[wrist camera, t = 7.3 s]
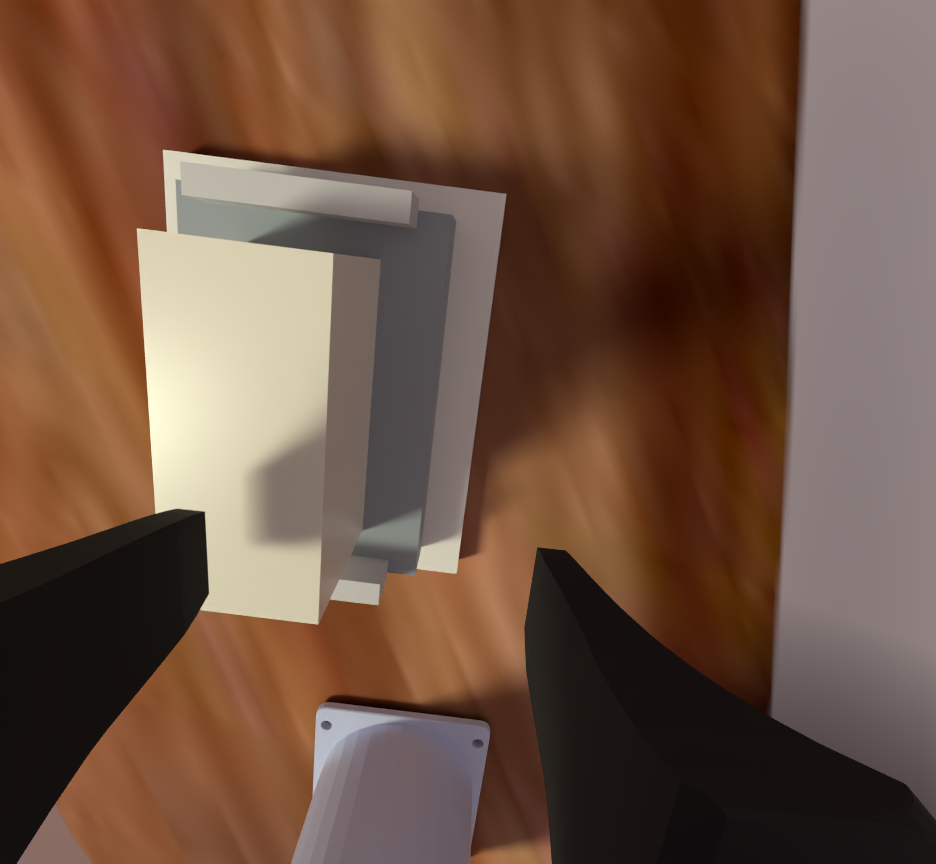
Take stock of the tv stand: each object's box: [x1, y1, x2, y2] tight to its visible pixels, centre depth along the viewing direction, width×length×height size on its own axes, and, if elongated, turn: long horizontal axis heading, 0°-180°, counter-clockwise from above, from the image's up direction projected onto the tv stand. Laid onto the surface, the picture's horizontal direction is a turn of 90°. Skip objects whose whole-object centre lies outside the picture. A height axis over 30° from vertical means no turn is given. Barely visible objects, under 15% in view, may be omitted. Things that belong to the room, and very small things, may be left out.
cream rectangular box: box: [137, 228, 381, 624], centre depth 14 cm, size 9×4×5 cm, turn 173°
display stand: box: [163, 150, 506, 605], centre depth 17 cm, size 14×11×4 cm
